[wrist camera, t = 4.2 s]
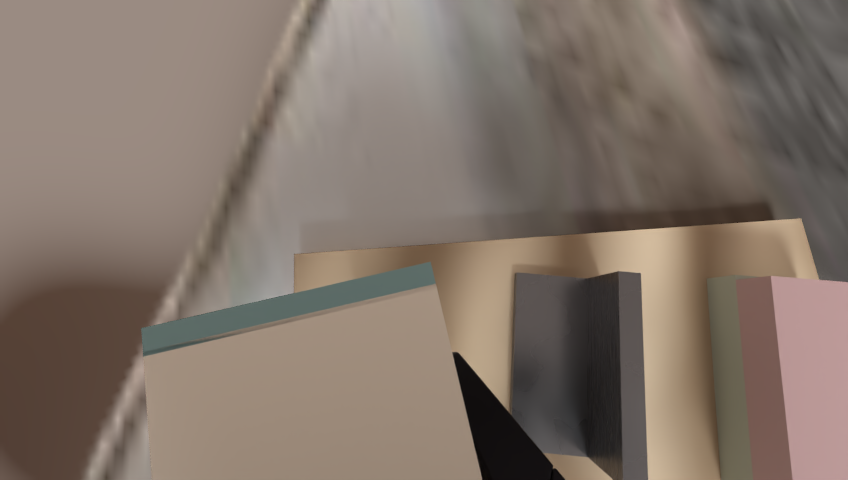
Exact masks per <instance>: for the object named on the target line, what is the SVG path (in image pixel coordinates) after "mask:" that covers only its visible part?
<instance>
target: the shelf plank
mask: <svg viewBox="0 0 848 480" xmlns="http://www.w3.org/2000/svg"><path fill="white" fill-rule="evenodd" d="M427 262H431V265H432V270H433V274H434V278H435V282H436V286H437V291H438V295H439V299H440V303H441V308H442V312H443V316H444V320H445V324H446V329H447V333H448V337H449V341H450V345H451V350H452V352H458V353H460V355H461V356H462V357H463V358H464V359H465V360H466V362H467V363H468V364H469V365H470V366H471V368H472V369H473V370H474V371H475V372H476V374H477V375H478V376H479V377H480V378H481V380H482V381H483V382H484V383H485V384H486V386H487V387H488V388H489V389H490V390H491V391H492V393H493V394H494V395H495V396H496V397H497V399H498V400H499V401H500V402H501V403H502V405H503V406H504V407H505V408H506V409H507V411H508V412H509V413H510V389H511V361H512V334H513V306H514V279H515V273H517V272H518V273H530V274H541V275H553V276H565V277H576V278H591V277H595V276H600V275H604V274H608V273H613V272H617V271H622V272H634V273H641V289H642V318H643V347H644V376H645V405H646V433H647V462H648V480H721V472H720V458H719V444H718V430H717V416H716V402H715V388H714V374H713V360H712V346H711V332H710V318H709V304H708V290H707V278H715V277H723V276H730V275H743V276H755V277H765V276H779V277H791V278H802V279H814V280H819V278H818V274H817V271H816V268H815V264H814V261H813V257H812V254H811V251H810V247H809V244H808V240H807V237H806V233H805V230H804V227H803V223H802V220H801V219H786V220H772V221H758V222H744V223H729V224H715V225H701V226H687V227H672V228H658V229H644V230H630V231H615V232H601V233H587V234H573V235H558V236H544V237H530V238H516V239H502V240H487V241H473V242H459V243H445V244H430V245H416V246H402V247H388V248H373V249H359V250H345V251H331V252H316V253H302V254H294V293H297V292H301V291H306V290H310V289H314V288H319V287H323V286H327V285H332V284H336V283H340V282H345V281H349V280H353V279H358V278H362V277H366V276H371V275H375V274H379V273H384V272H388V271H392V270H397V269H401V268H405V267H410V266H414V265H418V264H423V263H427ZM543 454H544V455H545V456H546V457H547V458H548V460H549V461H550V462H551V463H552V464H553V469H554V468H556V469H557V470H558V471H559V472H560V474H561V475H562V476H563V477H564V478H565V480H613V479H612V478H611V477H610V476H608V475H607V474H606V473H605V472H604V471H603V470H602V469H601V468H599V467H598V466H597V465H596V464H595V463H594V462H593V461H591V460H590V459H589V458H588V457H580V456H570V455H560V454H549V453H543Z"/></svg>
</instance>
